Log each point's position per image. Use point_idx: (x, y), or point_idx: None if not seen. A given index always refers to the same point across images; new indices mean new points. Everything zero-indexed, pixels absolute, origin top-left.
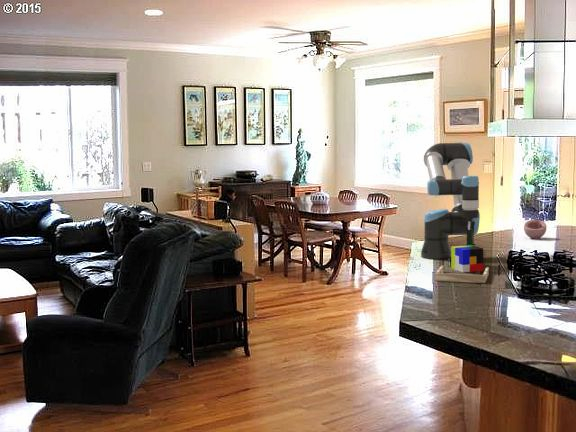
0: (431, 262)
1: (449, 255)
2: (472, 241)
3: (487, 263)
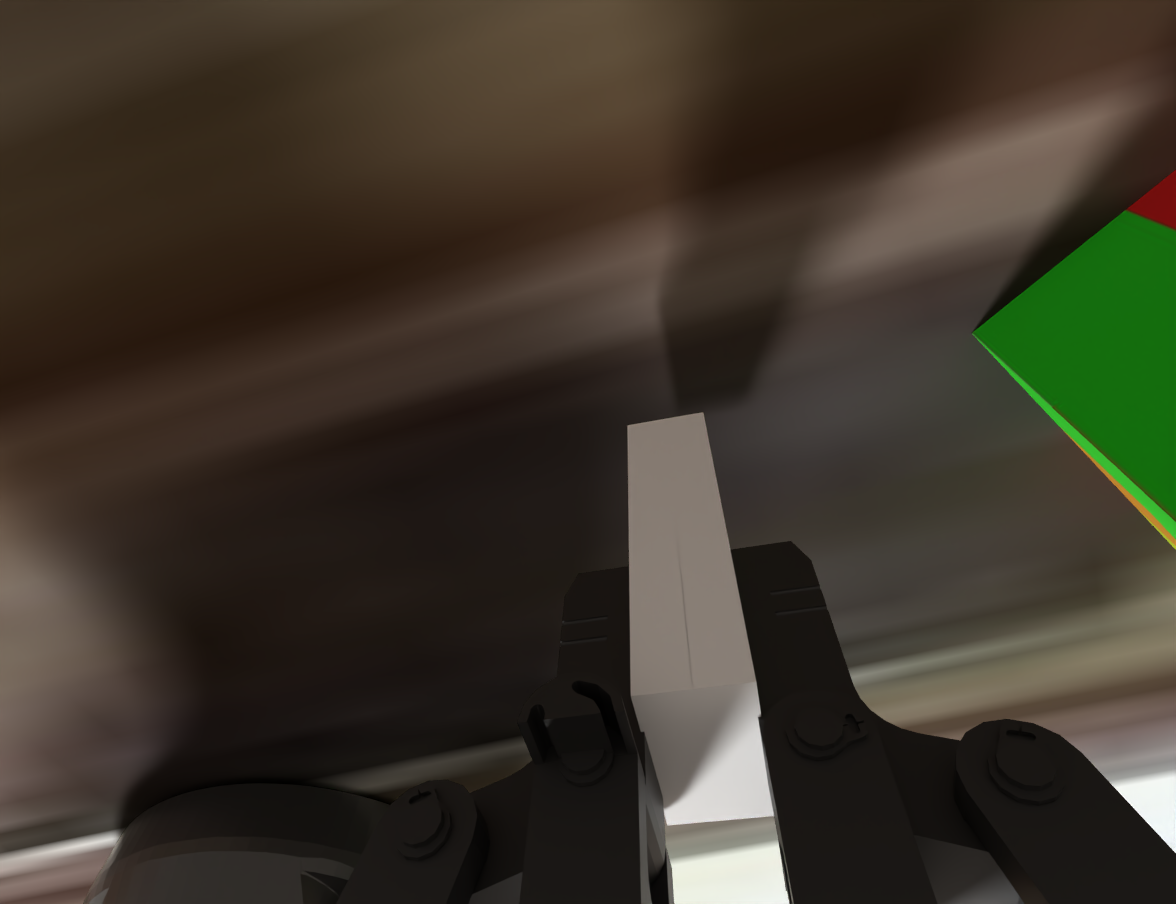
0: (745, 858)
1: (314, 821)
2: (931, 895)
3: (448, 102)
